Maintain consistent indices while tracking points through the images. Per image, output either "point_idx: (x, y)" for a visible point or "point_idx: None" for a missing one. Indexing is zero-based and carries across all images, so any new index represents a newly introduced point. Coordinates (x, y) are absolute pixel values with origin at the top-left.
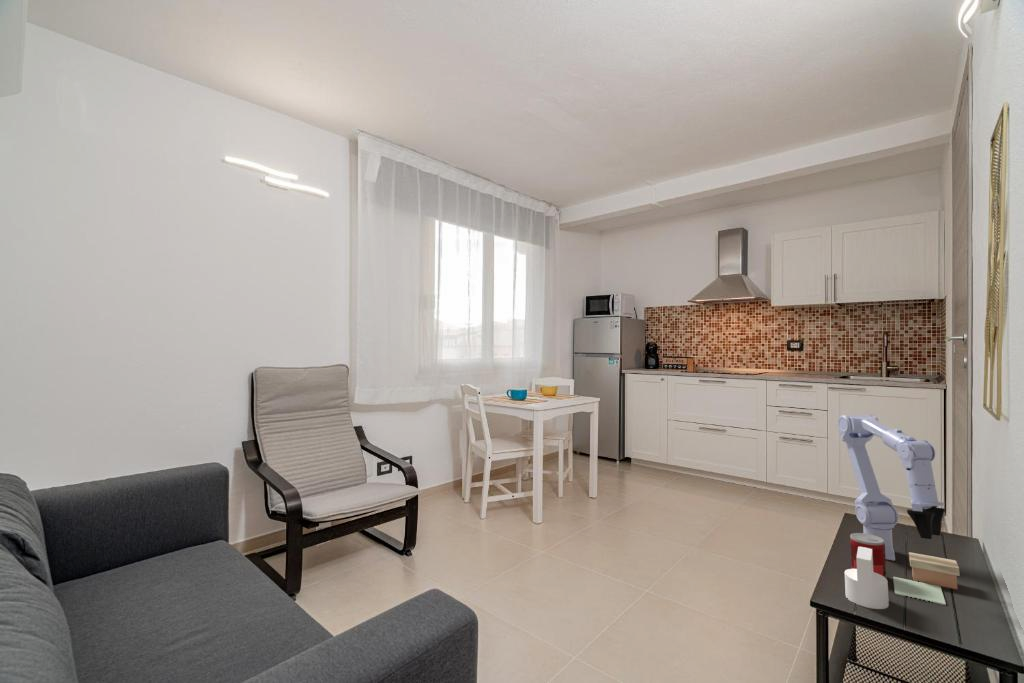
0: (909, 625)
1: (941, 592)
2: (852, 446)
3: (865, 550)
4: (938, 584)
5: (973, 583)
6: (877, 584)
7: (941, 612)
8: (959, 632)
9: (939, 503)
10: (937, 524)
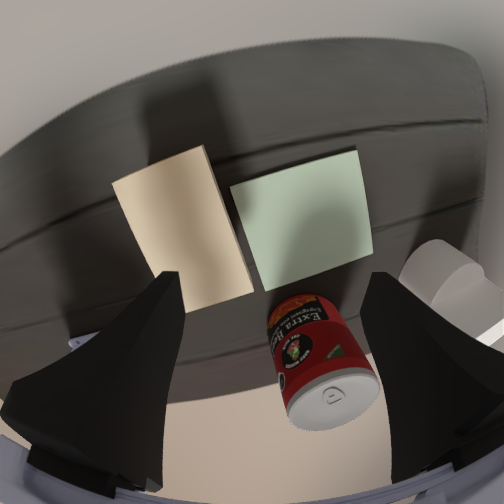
0: (475, 192)
1: (279, 173)
2: None
3: None
4: None
5: (103, 139)
6: (481, 270)
7: (399, 153)
8: (454, 120)
9: None
10: (153, 332)
